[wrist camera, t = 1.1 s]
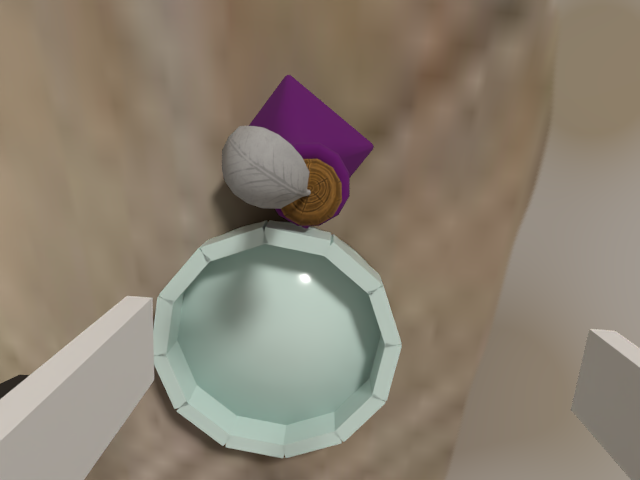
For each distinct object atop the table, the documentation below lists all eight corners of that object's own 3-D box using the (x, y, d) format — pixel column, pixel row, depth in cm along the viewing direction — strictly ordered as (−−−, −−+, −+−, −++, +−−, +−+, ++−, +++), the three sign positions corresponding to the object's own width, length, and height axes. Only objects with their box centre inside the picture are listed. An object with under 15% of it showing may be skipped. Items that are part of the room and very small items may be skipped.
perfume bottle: (371, 144, 33) (415, 159, 16) (308, 221, 35) (287, 312, 17) (291, 78, 32) (246, 17, 15) (231, 160, 34) (125, 191, 16)
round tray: (157, 404, 39) (140, 431, 36) (184, 199, 35) (168, 207, 31) (363, 444, 39) (366, 474, 36) (416, 247, 35) (425, 259, 32)
